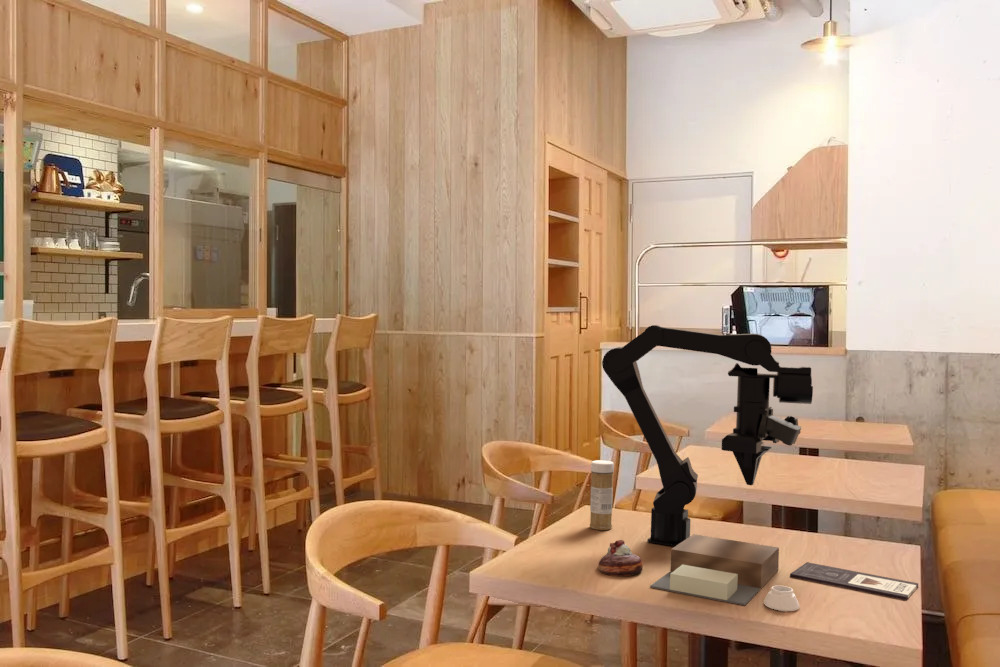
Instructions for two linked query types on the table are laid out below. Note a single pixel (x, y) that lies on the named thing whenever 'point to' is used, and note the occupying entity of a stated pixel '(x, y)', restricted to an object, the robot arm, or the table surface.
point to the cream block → (704, 582)
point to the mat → (738, 597)
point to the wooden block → (728, 558)
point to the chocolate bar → (855, 580)
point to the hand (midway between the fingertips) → (750, 484)
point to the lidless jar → (781, 599)
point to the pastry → (620, 561)
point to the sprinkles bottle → (601, 494)
